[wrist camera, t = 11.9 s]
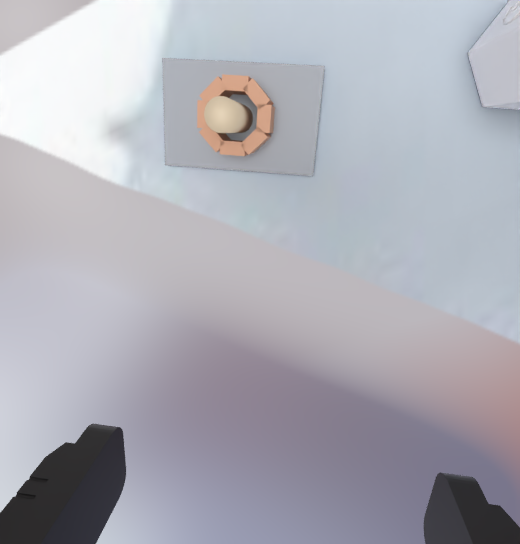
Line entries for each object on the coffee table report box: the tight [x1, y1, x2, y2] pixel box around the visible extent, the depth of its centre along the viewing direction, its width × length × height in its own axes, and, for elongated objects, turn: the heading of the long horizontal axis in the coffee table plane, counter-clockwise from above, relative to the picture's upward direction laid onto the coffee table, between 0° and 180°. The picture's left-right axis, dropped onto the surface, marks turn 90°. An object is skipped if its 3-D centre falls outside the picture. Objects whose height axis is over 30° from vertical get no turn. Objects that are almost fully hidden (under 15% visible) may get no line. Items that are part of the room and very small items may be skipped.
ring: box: [197, 74, 275, 156], centre depth 32 cm, size 6×6×4 cm
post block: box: [162, 58, 325, 176], centre depth 31 cm, size 14×9×9 cm, turn 86°
